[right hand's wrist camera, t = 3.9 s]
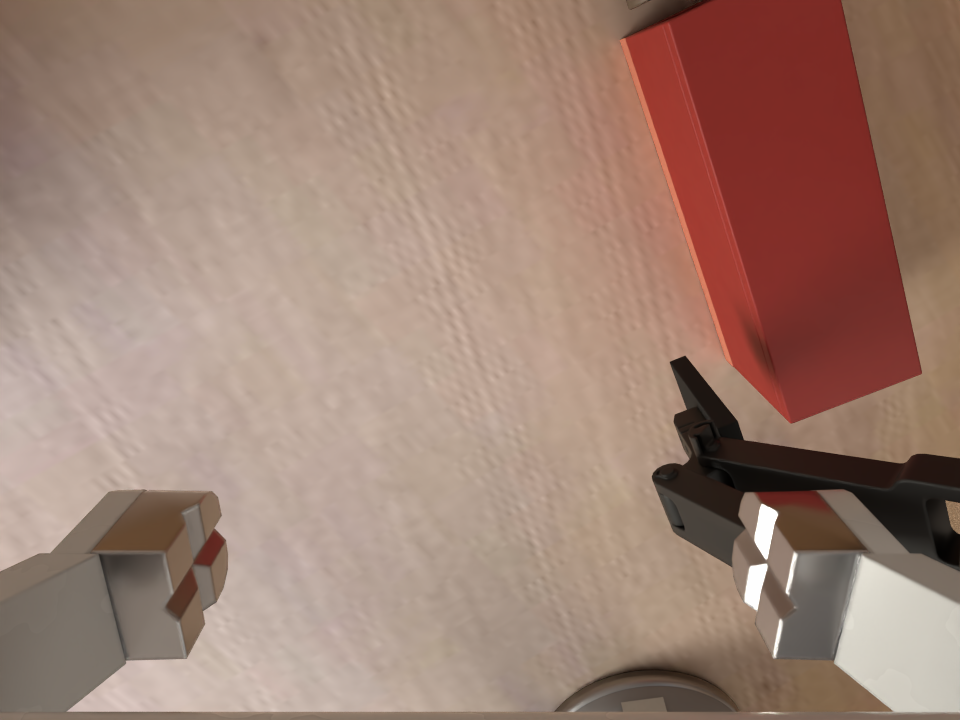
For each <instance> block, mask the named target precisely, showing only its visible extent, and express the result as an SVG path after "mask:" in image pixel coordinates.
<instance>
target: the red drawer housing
mask: <svg viewBox="0 0 960 720" xmlns="http://www.w3.org/2000/svg"><path fill="white" fill-rule="evenodd" d="M620 42H621V45H622V48H623V51H624V54H625V57H626V60H627V63H628V66H629V69H630V72H631V75H632V78H633V81H634V84H635V87H636V90H637V93H638V96H639V99H640V102H641V105H642V108H643V111H644V114H645V117H646V120H647V123H648V126H649V129H650V132H651V135H652V138H653V141H654V144H655V147H656V150H657V153H658V156H659V159H660V162H661V165H662V168H663V171H664V174H665V177H666V180H667V183H668V186H669V189H670V192H671V195H672V198H673V201H674V204H675V207H676V210H677V213H678V216H679V219H680V222H681V225H682V228H683V231H684V234H685V237H686V240H687V244H688V247H689V250H690V253H691V256H692V259H693V262H694V265H695V268H696V271H697V274H698V277H699V280H700V283H701V286H702V289H703V292H704V295H705V298H706V301H707V304H708V307H709V310H710V313H711V316H712V319H713V322H714V325H715V328H716V331H717V334H718V337H719V340H720V343H721V346H722V349H723V352H724V355H725V358H726V360H727V361H728V362H729V363H730V364H731V365H732V366H733V367H735V368H736V369H737V370H738V371H739V372H740V373H741V374H742V375H743V376H744V377H745V378H746V379H747V380H748V381H749V382H750V383H751V384H752V385H753V386H754V387H755V388H756V389H757V390H758V391H759V392H760V393H761V394H762V395H763V396H764V397H765V398H766V399H767V400H768V401H769V402H770V403H771V404H772V405H773V406H774V407H775V408H776V409H777V410H778V411H779V412H780V413H781V414H782V415H783V416H784V417H785V418H786V419H787V420H788V421H789V422H790V423H794V422H797V421H800V420H802V419H805V418H808V417H810V416H813V415H815V414H818V413H821V412H823V411H826V410H828V409H831V408H834V407H836V406H839V405H842V404H844V403H847V402H849V401H852V400H855V399H857V398H860V397H863V396H865V395H868V394H870V393H873V392H876V391H878V390H881V389H884V388H886V387H889V386H891V385H894V384H897V383H899V382H902V381H905V380H907V379H910V378H912V377H915V376H918V375H920V374H922V370H921V366H920V361H919V356H918V352H917V347H916V343H915V338H914V333H913V329H912V324H911V320H910V315H909V310H908V306H907V301H906V297H905V292H904V287H903V283H902V278H901V274H900V269H899V264H898V260H897V255H896V251H895V246H894V242H893V237H892V232H891V228H890V223H889V219H888V214H887V209H886V205H885V200H884V196H883V191H882V186H881V182H880V177H879V173H878V168H877V163H876V159H875V154H874V150H873V145H872V140H871V136H870V131H869V127H868V122H867V117H866V113H865V108H864V104H863V99H862V94H861V90H860V85H859V81H858V76H857V71H856V67H855V62H854V58H853V53H852V48H851V44H850V39H849V35H848V30H847V25H846V21H845V16H844V12H843V7H842V2H841V0H703V1H701V2H699V3H697V4H695V5H693V6H691V7H689V8H686V9H684V10H682V11H680V12H678V13H676V14H674V15H672V16H670V17H668V18H666V19H663V20H661V21H659V22H657V23H655V24H653V25H651V26H649V27H647V28H645V29H642V30H640V31H638V32H636V33H634V34H632V35H630V36H628V37H626V38H623V39H621V40H620Z"/></svg>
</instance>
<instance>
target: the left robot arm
mask: <svg viewBox="0 0 960 720" xmlns="http://www.w3.org/2000/svg"><path fill="white" fill-rule="evenodd" d="M670 364H671V367H672V370H673V373H674V375H675V378H676V381H677V384H678V386H679V389H680V392H681V394H682V397H683V400H684V403H685V405H686V408H687V410H686V411H683V412H680V413H678V414H675V416H674V424H675V427H676V430H677V432H678V435H679V438H680V440H681V443H682V446H683V448H684V450H685V452H686V454H687V455H688V457H689V459H690V460H689V461H688V462H687V463H686V464H684V465H680V464H676V463H673V464H666V465H663V466H661V467H659V468H658V469H657V470H656V471H655V472H654V473H653V475H652V480H653V482H654V485H655V487H656V490H657V492H658V495H659V497H660V500H661V502H662V505H663V507H664V510H665V512H666V515H667V517H668V520H669V522H670V524H671V527H672V529H673V531H674V532H675V533H676V534H677V535H678V536H680V537H682V538H684V539H685V540H687V541H689V542H690V543H692V544H694V545H695V546H697V547H699V548H701V549H702V550H704V551H706V552H707V553H709V554H711V555H712V556H714V557H716V558H718V559H719V560H721V561H723V562H724V563H726V564H728V565H729V566H731V567H733V566H732V553H733V545H734V540H735V539H736V538H737V537H738V536H739V535H740V534H741V533H742V532H743V531H744V530H745V529H746V528H745V526H744V524H743V523H742V521H741V519H740V518H739V516H738V514H739V509H740V503H741V500H742V498H743V496H744V494H745V492H783V491H813V490H840V489H844V490H846V491H849V492H851V493H853V494H854V495H855V496H856V497H857V498H858V500H859V501H860V502H861V503H862V504H863V505H864V506H865V507H866V508H867V509H868V510H869V511H870V512H871V513H872V514H873V515H874V516H875V517H876V518H877V519H878V520H879V522H880V523H881V524H882V525H883V526H884V527H885V528H886V529H887V530H888V531H889V532H890V533H891V534H892V535H893V536H894V537H895V538H896V539H897V540H898V541H899V543H900V544H901V545H902V546H903V547H904V548H905V549H906V550H907V551H908V552H909V553H915V554H923V555H925V556H927V557H929V558H931V559H934V560H936V561H938V562H940V563H942V564H944V565H946V566H949V567H951V568H953V569H955V570H957V571H959V572H960V534H958V533H956V532H955V531H954V530H953V529H952V527H951V525H950V521H949V516H948V511H947V507H946V502H945V500H947V501H952V502H958V503H960V459H959V458H952V457H944V456H937V455H929V454H916V455H913V456H911V458H910V459H909V460H908V461H907V462H906V463H892V462H886V461H879V460H872V459H866V458H859V457H852V456H846V455H839V454H832V453H825V452H819V451H812V450H805V449H799V448H792V447H785V446H779V445H772V444H765V443H759V442H752V441H745V440H744V439H743V436H742V433H741V430H740V427H739V424H738V421H737V420H736V419H735V417H734V416H733V415H732V414H731V412H730V411H729V410H728V409H727V407H726V406H725V405H724V404H723V402H722V401H721V400H720V399H719V397H718V396H717V395H716V394H715V392H714V391H713V390H712V389H711V387H710V386H709V385H708V384H707V382H706V381H705V380H704V379H703V377H702V376H701V375H700V374H699V372H698V371H697V370H696V369H695V367H694V366H693V365H692V364H691V362H690V361H689V360H688V359H687V357H686V356H683V357H681V358H678V359H676V360H673V361H671V362H670ZM555 712H740V711H739V709H738V708H737V706H736V705H735V704H734V702H733V701H732V700H731V699H730V698H729V697H728V696H727V695H726V694H725V693H724V692H722V691H721V690H720V689H718V688H717V687H715V686H714V685H712V684H710V683H708V682H706V681H704V680H702V679H700V678H697V677H694V676H691V675H688V674H683V673H679V672H672V671H663V670H644V671H634V672H628V673H622V674H618V675H614V676H611V677H608V678H605V679H602V680H600V681H597V682H595V683H592V684H591V685H589V686H587V687H585V688H583V689H581V690H580V691H578V692H576V693H575V694H574V695H572V696H571V697H570V698H568V699H567V700H566V701H565V702H564V703H562V704H561V705H560V706H559V707H558V709H557V710H556V711H555Z"/></svg>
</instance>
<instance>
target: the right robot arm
mask: <svg viewBox="0 0 960 720" xmlns="http://www.w3.org/2000/svg"><path fill="white" fill-rule="evenodd" d="M221 516H222V515H221V510H220V505H219V500H218V497H217V496H216V495H215V494H214V493H213V492H212V491H172V490H148V491H147V490H116V491H111V492H108V493H107V494H106V495H105V497H104V498H103V499H102V500H101V501H100V502H99V503H98V504H97V505H96V506H95V507H94V508H93V509H92V510H91V511H90V512H89V513H88V514H87V515H86V516H85V517H84V519H83V520H82V521H81V522H80V523H79V524H78V525H77V526H76V527H75V528H74V529H73V530H72V531H71V532H70V533H69V534H68V535H67V536H66V537H65V538H64V539H63V541H62V542H61V543H60V544H59V545H58V546H57V547H56V548H55V549H54V550H53V551H52V552H51V553H45V554H37V555H35V556H33V557H31V558H29V559H26V560H24V561H22V562H20V563H18V564H16V565H13V566H11V567H9V568H7V569H5V570H3V571H1V572H0V720H960V572H959V571H957V570H955V569H953V568H951V567H949V566H946V565H944V564H942V563H940V562H938V561H936V560H934V559H931V558H929V557H927V556H925V555H923V554H915V553H909V552H908V551H907V550H906V549H905V548H904V547H903V546H902V545H901V544H900V543H899V541H898V540H897V539H896V538H895V537H894V536H893V535H892V534H891V533H890V532H889V531H888V530H887V529H886V528H885V527H884V526H883V525H882V524H881V523H880V522H879V520H878V519H877V518H876V517H875V516H874V515H873V514H872V513H871V512H870V511H869V510H868V509H867V508H866V507H865V506H864V505H863V504H862V503H861V502H860V501H859V500H858V498H857V497H856V496H855V495H854V494H853V493H851V492H849V491H846V490H844V489H840V490H813V491H783V492H745V494H744V496H743V498H742V500H741V503H740V509H739V514H738V516H739V518H740V519H741V521H742V523H743V524H744V526H745V528H746V529H745V530H744V531H743V532H742V533H741V534H740V535H739V536H738V537H737V538H736V539H735V540H734V545H733V553H732V566H733V577H734V580H735V584H736V587H737V590H738V592H739V594H740V596H741V598H742V600H743V602H744V603H746V604H747V605H749V606H750V607H752V608H753V609H755V610H756V611H757V615H756V621H755V625H756V627H757V629H758V631H759V633H760V634H761V636H762V638H763V640H764V642H765V644H766V646H767V648H768V649H769V651H770V653H771V655H772V657H773V659H800V660H834V664H835V665H837V666H838V667H839V668H840V669H842V670H843V671H844V672H845V673H847V674H848V675H849V676H850V677H852V678H853V679H854V680H855V681H857V682H858V683H859V684H860V685H862V686H863V687H864V688H865V689H867V690H868V691H869V692H870V693H871V694H873V695H874V696H875V697H876V698H878V699H879V700H880V701H881V702H883V703H884V704H885V705H886V706H888V707H889V708H890V709H891V710H893V711H894V712H66V711H68V710H69V709H70V708H71V707H73V706H74V705H75V704H76V703H78V702H79V701H80V700H81V699H83V698H84V697H85V696H86V695H88V694H89V693H90V692H91V691H92V690H94V689H95V688H96V687H97V686H99V685H100V684H101V683H102V682H104V681H105V680H106V679H107V678H109V677H110V676H111V675H112V674H114V673H115V672H116V671H117V670H119V669H120V668H121V667H122V666H124V665H125V664H126V661H125V660H159V659H187V657H188V655H189V653H190V651H191V650H192V648H193V646H194V644H195V642H196V640H197V638H198V636H199V634H200V633H201V631H202V629H203V627H204V625H205V621H204V615H203V611H204V610H205V609H207V608H208V607H210V606H211V605H213V604H214V603H216V602H217V600H218V598H219V596H220V594H221V592H222V590H223V588H224V584H225V579H226V575H227V570H228V551H227V545H226V540H225V539H224V538H223V537H222V536H221V535H220V534H219V533H218V532H217V531H216V530H215V529H214V528H215V526H216V524H217V523H218V521H219V519H220V518H221Z"/></svg>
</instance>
